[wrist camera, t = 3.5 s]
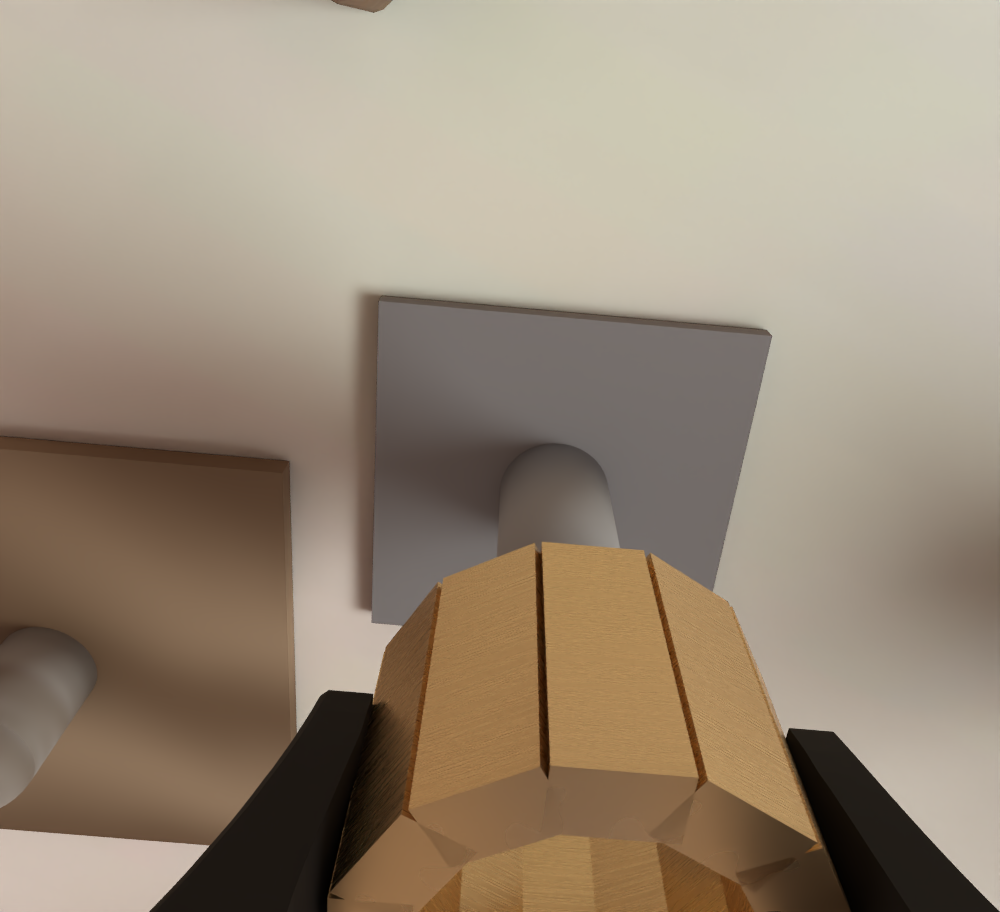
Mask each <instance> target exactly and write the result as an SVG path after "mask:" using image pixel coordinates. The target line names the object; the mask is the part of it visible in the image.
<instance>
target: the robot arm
mask: <svg viewBox="0 0 1000 912" xmlns="http://www.w3.org/2000/svg"><path fill="white" fill-rule="evenodd" d="M372 706H373V694H369V693H357V692H344V691H332V690H328V691H327V692H325V693H324V694H322V695H321V696H320V697H319V699H318V701H317V702H316V704H315V706H314V708H313V709H312V711H311V713H310V714H309V716H308V717H307V719H306V720H305V722H304V724H303V725H302V727H301V728H300V730H299V731H298V733H297V734H296V736H295V737H294V738H293V740H292V741H291V743H290V744H289V746H288V747H287V749H286V750H285V751H284V753H283V754H282V756H281V757H280V758H279V760H278V761H277V763H276V764H275V765H274V767H273V768H272V769H271V771H270V772H269V773H268V775H267V776H266V777H265V778H264V780H263V781H262V782H261V784H260V785H259V786H258V787H257V789H256V790H255V791H254V793H253V794H252V795H251V797H250V798H249V799H248V800H247V802H246V803H245V804H244V806H243V807H242V808H241V809H240V811H239V812H238V813H237V814H236V816H235V817H234V818H233V819H232V821H231V822H230V823H229V824H228V825H227V826H226V827H225V829H224V830H223V831H222V832H221V833H220V834H219V836H218V837H217V838H216V839H215V840H214V841H213V843H212V844H211V845H210V846H209V847H208V848H207V850H206V851H205V852H204V853H203V854H202V855H201V857H200V858H199V859H198V860H197V861H196V862H195V863H194V865H193V866H192V867H191V868H190V869H189V870H188V871H187V872H186V874H185V875H184V876H183V877H182V878H181V879H180V880H179V881H178V882H177V883H176V884H175V885H174V886H173V888H172V889H171V890H170V891H169V892H168V893H167V894H166V895H165V896H164V897H163V898H162V899H161V900H160V901H159V902H158V903H157V904H156V905H155V906H154V907H153V908H152V909H151V910H150V911H149V912H327V898H328V893H329V889H330V885H331V880H332V876H333V872H334V867H335V863H336V859H337V854H338V850H339V846H340V841H341V837H342V833H343V828H344V824H345V820H346V815H347V811H348V807H349V802H350V798H351V794H352V789H353V786H354V783H355V780H356V776H357V771H358V767H359V763H360V759H361V754H362V750H363V746H364V741H365V737H366V733H367V728H368V724H369V720H370V715H371V711H372ZM786 741H787V744H788V746H789V749H790V752H791V754H792V757H793V759H794V762H795V765H796V767H797V770H798V773H799V775H800V778H801V780H802V783H803V786H804V788H805V791H806V794H807V796H808V799H809V801H810V804H811V807H812V809H813V812H814V815H815V817H816V820H817V822H818V825H819V828H820V830H821V833H822V836H823V838H824V841H825V843H826V846H827V849H828V851H829V854H830V856H831V859H832V862H833V864H834V867H835V870H836V872H837V875H838V877H839V880H840V883H841V885H842V888H843V891H844V893H845V896H846V898H847V901H848V904H849V906H850V909H851V912H999V911H998V910H997V909H996V908H995V907H994V906H993V905H992V904H991V903H990V902H989V901H988V900H987V899H986V898H985V897H984V896H983V895H982V894H981V893H980V892H979V891H978V890H977V889H976V888H975V887H974V885H973V884H972V883H971V882H970V881H969V880H968V879H967V878H966V877H965V876H964V875H963V874H962V873H961V872H960V871H959V870H958V869H957V868H956V867H955V866H954V865H953V864H952V863H951V862H950V860H949V859H948V858H947V857H946V856H945V855H944V854H943V853H942V852H941V851H940V850H939V849H938V848H937V847H936V845H935V844H934V843H933V842H932V841H931V840H930V839H929V838H928V837H927V836H926V835H925V834H924V832H923V831H922V830H921V829H920V828H919V827H918V826H917V825H916V824H915V823H914V821H913V820H912V819H911V818H910V817H909V816H908V815H907V814H906V813H905V811H904V810H903V809H902V808H901V807H900V806H899V805H898V804H897V803H896V801H895V800H894V799H893V798H892V797H891V796H890V795H889V794H888V792H887V791H886V790H885V789H884V788H883V787H882V786H881V785H880V783H879V782H878V781H877V780H876V779H875V778H874V777H873V775H872V774H871V773H870V772H869V771H868V770H867V769H866V768H865V766H864V765H863V764H862V763H861V762H860V761H859V760H858V759H857V757H856V756H855V755H854V754H853V753H852V752H851V751H850V750H849V748H848V747H847V746H846V745H845V744H844V743H843V742H842V741H841V740H840V739H839V737H838V736H837V735H836V734H835V733H834V732H829V731H817V730H805V729H793V728H789V730H788V733H787V737H786Z"/></svg>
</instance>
